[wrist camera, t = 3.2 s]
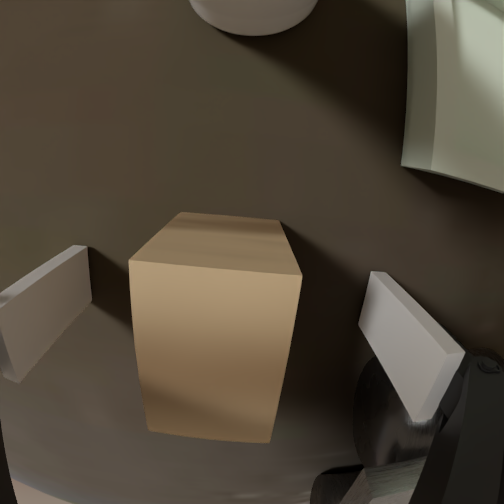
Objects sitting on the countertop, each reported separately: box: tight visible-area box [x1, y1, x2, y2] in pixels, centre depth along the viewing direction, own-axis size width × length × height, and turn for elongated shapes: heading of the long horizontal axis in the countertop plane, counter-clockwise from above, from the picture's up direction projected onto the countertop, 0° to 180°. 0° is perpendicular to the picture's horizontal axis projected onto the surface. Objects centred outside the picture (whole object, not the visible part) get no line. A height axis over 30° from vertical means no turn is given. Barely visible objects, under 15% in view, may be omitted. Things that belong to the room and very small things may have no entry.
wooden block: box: [129, 212, 303, 443], centre depth 11 cm, size 6×4×6 cm, turn 175°
